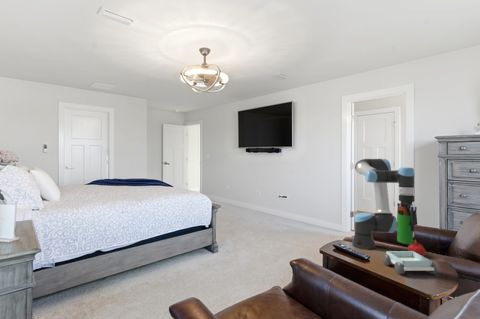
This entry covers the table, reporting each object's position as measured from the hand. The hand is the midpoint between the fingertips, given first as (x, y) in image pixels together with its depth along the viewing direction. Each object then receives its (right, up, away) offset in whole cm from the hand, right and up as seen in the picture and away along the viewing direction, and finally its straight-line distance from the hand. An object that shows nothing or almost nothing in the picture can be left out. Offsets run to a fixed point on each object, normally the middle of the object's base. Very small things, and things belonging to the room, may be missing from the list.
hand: (406, 234), depth 145 cm
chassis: (0, -19, 0) cm, 19 cm away
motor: (0, -4, 0) cm, 4 cm away
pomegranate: (+21, -20, +21) cm, 36 cm away
